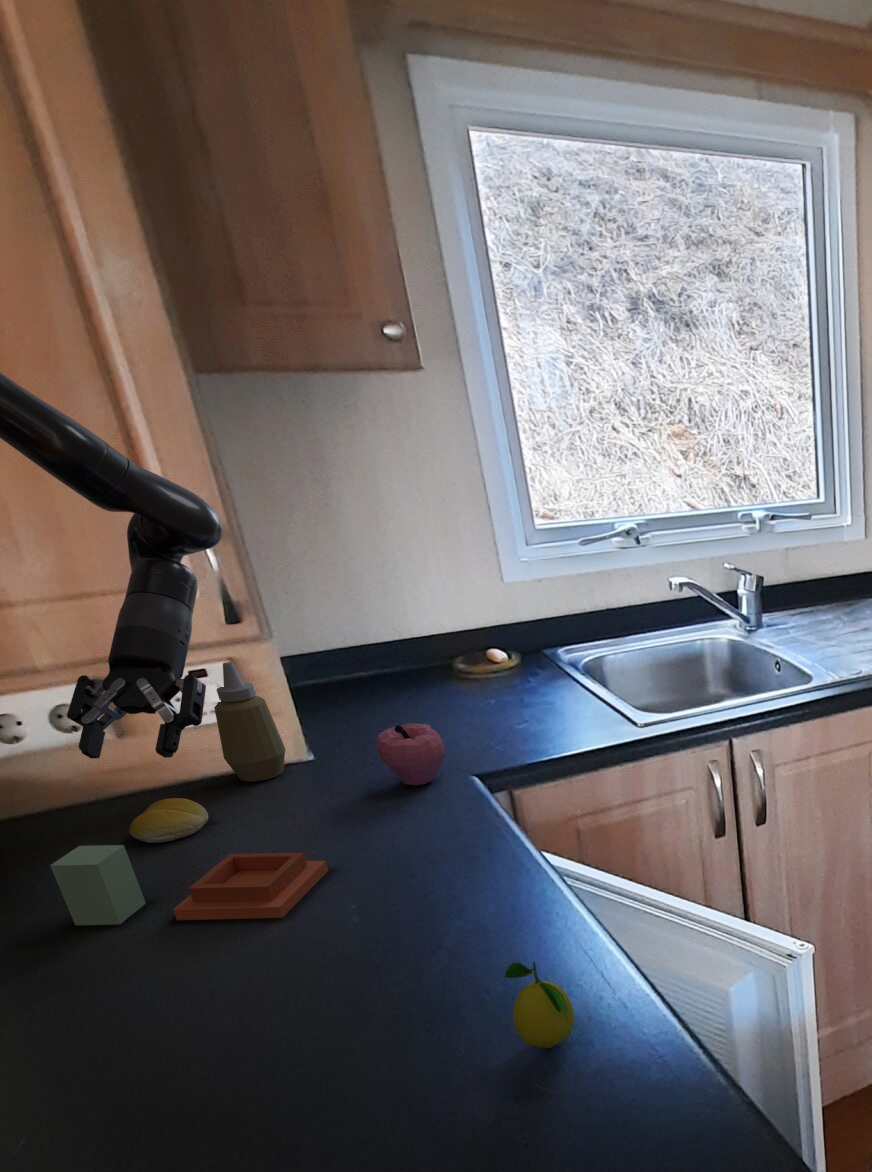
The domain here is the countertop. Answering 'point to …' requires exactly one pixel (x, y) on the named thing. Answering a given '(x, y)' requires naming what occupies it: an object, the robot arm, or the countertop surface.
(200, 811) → the bread roll
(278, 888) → the base pad
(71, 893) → the sage pad block
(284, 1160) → the countertop surface
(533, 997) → the lemon
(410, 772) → the apple
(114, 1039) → the countertop surface
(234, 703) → the squeeze bottle
